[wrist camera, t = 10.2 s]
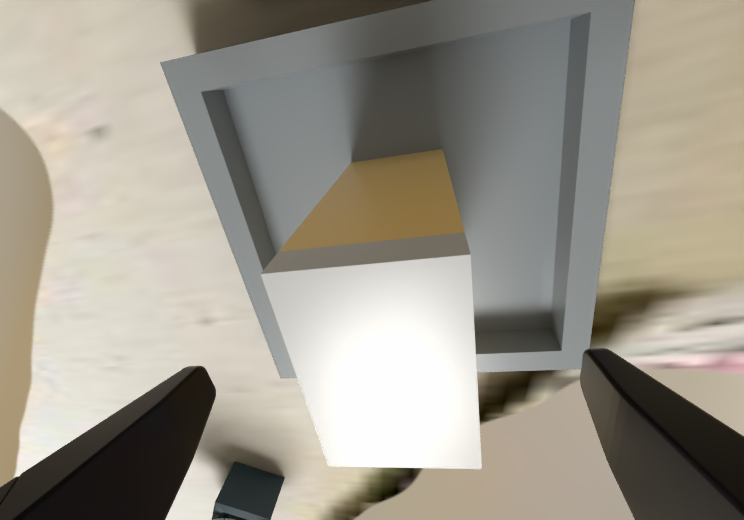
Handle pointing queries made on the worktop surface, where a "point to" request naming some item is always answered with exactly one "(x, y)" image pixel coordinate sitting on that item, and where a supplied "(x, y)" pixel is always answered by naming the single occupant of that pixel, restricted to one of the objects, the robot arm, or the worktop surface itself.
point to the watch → (247, 494)
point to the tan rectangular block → (383, 317)
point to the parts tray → (431, 147)
